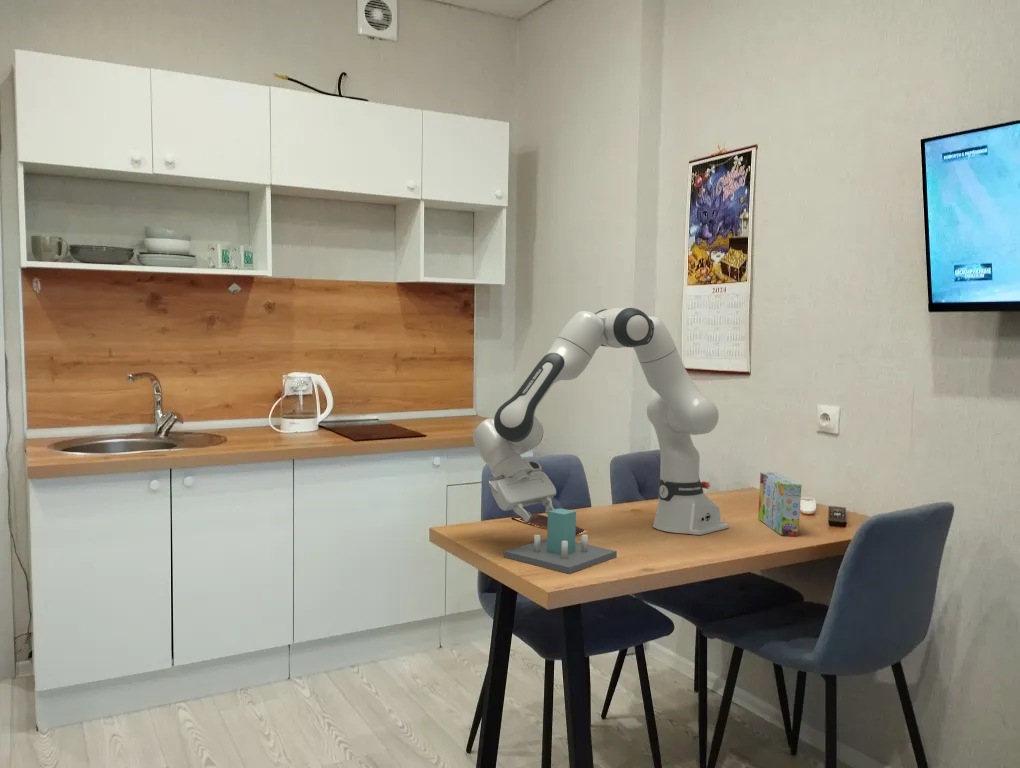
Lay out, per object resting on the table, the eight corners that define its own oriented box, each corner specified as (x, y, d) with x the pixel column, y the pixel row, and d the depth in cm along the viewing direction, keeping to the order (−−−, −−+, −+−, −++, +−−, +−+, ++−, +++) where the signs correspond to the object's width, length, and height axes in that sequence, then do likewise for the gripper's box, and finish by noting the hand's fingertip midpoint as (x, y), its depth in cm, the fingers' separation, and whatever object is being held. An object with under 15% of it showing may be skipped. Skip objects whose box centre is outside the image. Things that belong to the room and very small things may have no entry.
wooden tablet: (594, 528, 223) (568, 529, 216) (593, 536, 222) (568, 537, 216) (534, 512, 243) (509, 512, 237) (533, 519, 243) (508, 519, 237)
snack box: (800, 536, 222) (802, 484, 221) (780, 536, 222) (782, 483, 221) (774, 519, 243) (776, 471, 242) (756, 519, 243) (758, 471, 242)
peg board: (552, 542, 210) (553, 522, 210) (616, 556, 197) (617, 535, 197) (503, 557, 195) (504, 535, 194) (569, 573, 182) (570, 550, 182)
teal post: (559, 547, 199) (560, 508, 199) (575, 551, 196) (576, 511, 196) (547, 551, 196) (547, 511, 195) (563, 554, 192) (564, 514, 192)
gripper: (492, 470, 196) (522, 516, 190) (543, 462, 211) (571, 504, 206) (479, 486, 199) (507, 531, 193) (529, 476, 214) (557, 518, 209)
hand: (541, 517), depth 199 cm, fingers open, 8 cm apart
